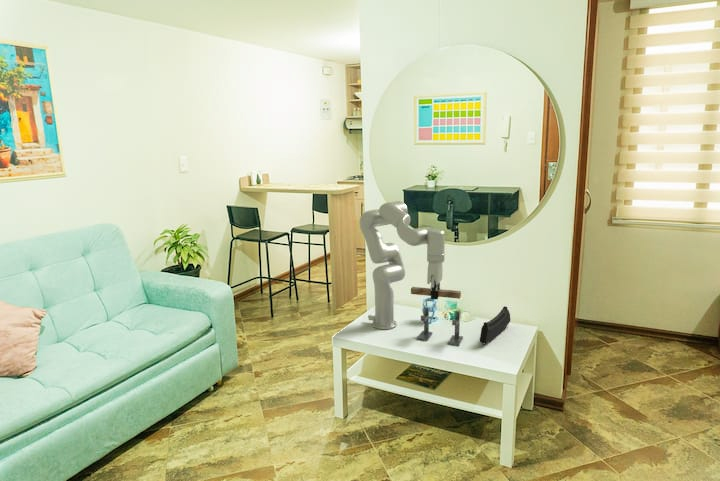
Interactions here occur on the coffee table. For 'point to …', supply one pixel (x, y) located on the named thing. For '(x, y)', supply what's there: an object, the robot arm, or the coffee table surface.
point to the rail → (440, 292)
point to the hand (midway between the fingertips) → (435, 297)
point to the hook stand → (426, 334)
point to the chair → (430, 309)
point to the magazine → (495, 326)
